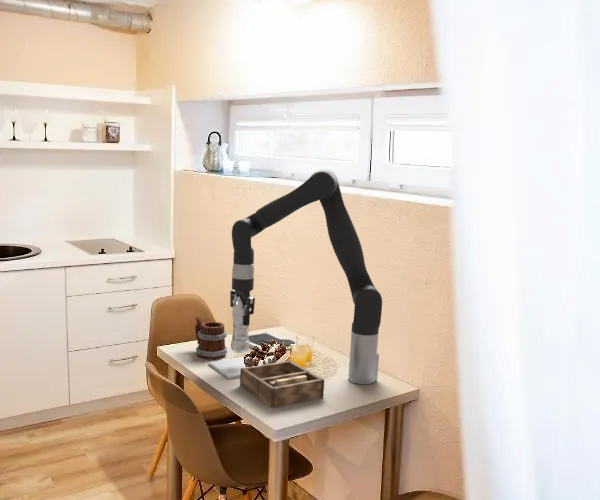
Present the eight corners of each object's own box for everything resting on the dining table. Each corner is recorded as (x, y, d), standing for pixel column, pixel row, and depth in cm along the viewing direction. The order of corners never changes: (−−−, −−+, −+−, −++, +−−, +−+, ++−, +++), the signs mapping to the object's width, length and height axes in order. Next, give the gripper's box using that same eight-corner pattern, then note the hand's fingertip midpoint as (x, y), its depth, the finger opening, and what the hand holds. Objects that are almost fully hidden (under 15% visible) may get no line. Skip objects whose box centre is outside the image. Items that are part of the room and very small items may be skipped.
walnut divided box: (289, 377, 223) (290, 360, 222) (323, 397, 206) (324, 379, 205) (239, 385, 213) (240, 368, 212) (271, 408, 196) (272, 389, 195)
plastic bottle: (238, 356, 224) (240, 300, 220) (226, 351, 229) (228, 295, 225) (253, 353, 228) (255, 297, 225) (241, 348, 233) (243, 293, 230)
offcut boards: (304, 391, 211) (305, 372, 210) (312, 397, 207) (314, 377, 206) (267, 398, 203) (268, 379, 202) (275, 404, 199) (276, 384, 198)
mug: (211, 362, 233) (208, 321, 233) (186, 359, 243) (183, 319, 242) (235, 355, 242) (231, 315, 242) (210, 352, 252) (207, 314, 251)
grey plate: (248, 358, 240) (248, 356, 240) (270, 372, 227) (270, 369, 227) (208, 364, 231) (208, 362, 231) (229, 379, 218) (229, 376, 218)
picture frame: (296, 349, 256) (266, 336, 272) (297, 342, 256) (266, 329, 272) (264, 355, 247) (234, 341, 263) (264, 348, 246) (235, 335, 262)
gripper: (262, 279, 220) (260, 327, 223) (242, 271, 232) (241, 316, 235) (243, 281, 216) (241, 329, 219) (223, 273, 228) (222, 319, 230)
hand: (241, 322), depth 227 cm, fingers closed on plastic bottle, 6 cm apart
